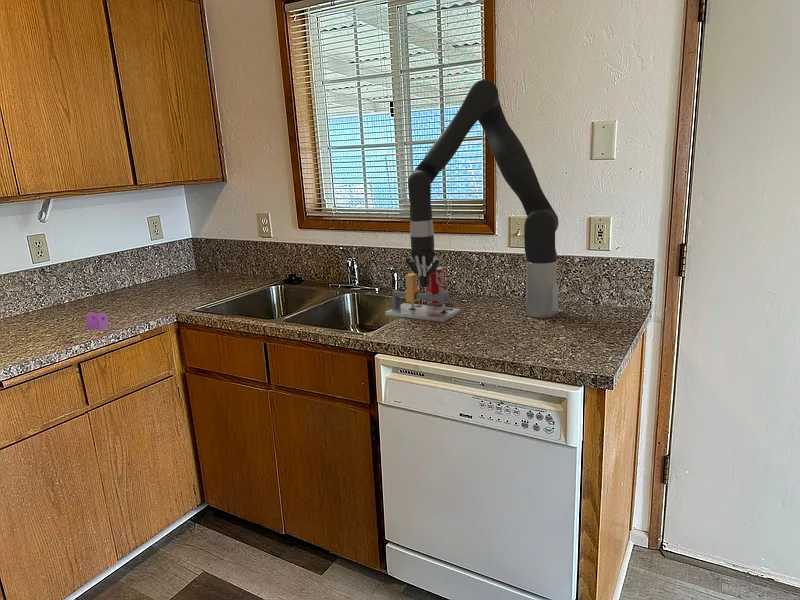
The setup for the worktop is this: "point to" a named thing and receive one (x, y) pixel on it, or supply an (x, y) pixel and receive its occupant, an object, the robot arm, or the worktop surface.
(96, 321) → the bracket
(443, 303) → the beam gauge
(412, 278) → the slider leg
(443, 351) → the worktop surface
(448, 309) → the hole plate
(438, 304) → the soda can
